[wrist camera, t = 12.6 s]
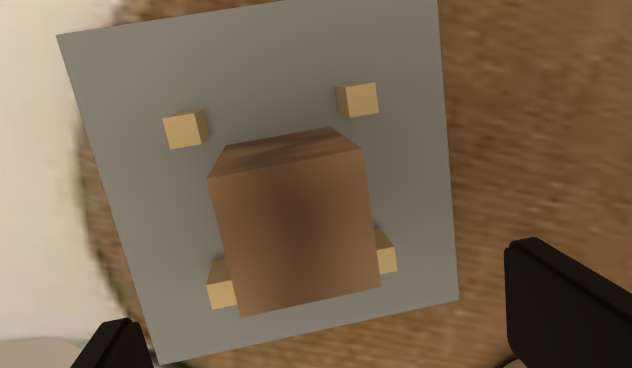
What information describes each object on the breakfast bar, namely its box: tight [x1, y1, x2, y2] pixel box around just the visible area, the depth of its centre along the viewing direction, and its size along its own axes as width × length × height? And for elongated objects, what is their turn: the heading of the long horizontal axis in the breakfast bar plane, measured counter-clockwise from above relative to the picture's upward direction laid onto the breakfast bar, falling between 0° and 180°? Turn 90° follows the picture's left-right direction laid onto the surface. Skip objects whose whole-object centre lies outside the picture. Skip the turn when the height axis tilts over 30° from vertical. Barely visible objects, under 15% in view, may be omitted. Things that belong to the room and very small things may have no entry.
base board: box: [56, 0, 459, 365], centre depth 23 cm, size 20×20×4 cm
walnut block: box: [206, 126, 382, 318], centre depth 20 cm, size 6×6×8 cm
